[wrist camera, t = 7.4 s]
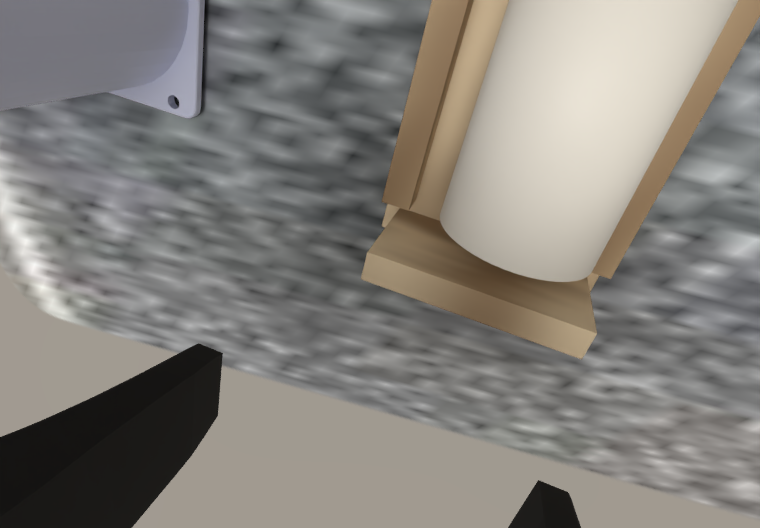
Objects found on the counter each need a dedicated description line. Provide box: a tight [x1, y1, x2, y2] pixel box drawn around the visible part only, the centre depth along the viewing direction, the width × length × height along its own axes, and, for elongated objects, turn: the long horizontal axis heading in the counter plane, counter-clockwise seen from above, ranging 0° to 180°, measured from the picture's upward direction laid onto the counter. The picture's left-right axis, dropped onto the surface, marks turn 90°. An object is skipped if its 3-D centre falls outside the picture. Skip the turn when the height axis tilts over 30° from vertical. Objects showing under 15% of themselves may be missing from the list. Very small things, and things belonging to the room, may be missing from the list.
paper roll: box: [440, 0, 738, 282], centre depth 13 cm, size 9×5×5 cm, turn 166°
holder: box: [361, 0, 760, 359], centre depth 14 cm, size 8×13×5 cm, turn 166°
